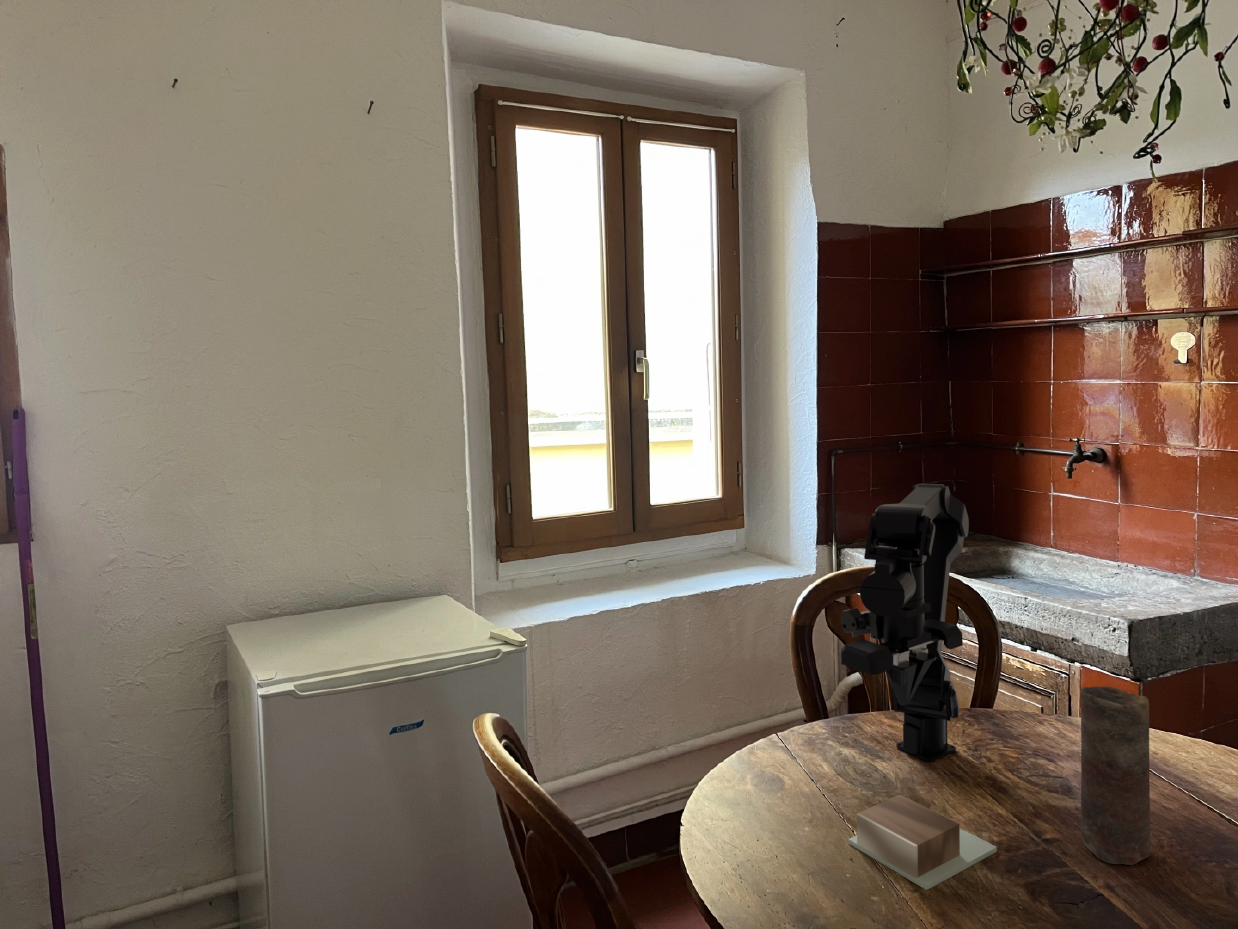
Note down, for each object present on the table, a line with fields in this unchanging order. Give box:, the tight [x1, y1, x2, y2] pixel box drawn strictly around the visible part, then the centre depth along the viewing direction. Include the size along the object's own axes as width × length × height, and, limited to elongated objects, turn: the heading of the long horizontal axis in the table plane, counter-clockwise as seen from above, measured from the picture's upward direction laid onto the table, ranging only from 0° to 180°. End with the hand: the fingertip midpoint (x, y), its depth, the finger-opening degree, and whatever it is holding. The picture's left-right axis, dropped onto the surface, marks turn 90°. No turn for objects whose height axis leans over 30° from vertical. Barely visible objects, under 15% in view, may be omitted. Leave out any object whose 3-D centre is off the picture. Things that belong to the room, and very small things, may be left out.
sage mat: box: [847, 828, 998, 891], centre depth 107 cm, size 13×12×1 cm
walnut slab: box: [856, 794, 961, 879], centre depth 106 cm, size 4×9×8 cm
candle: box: [1080, 685, 1151, 866], centre depth 104 cm, size 8×7×20 cm
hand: (903, 704), depth 120 cm, fingers closed
